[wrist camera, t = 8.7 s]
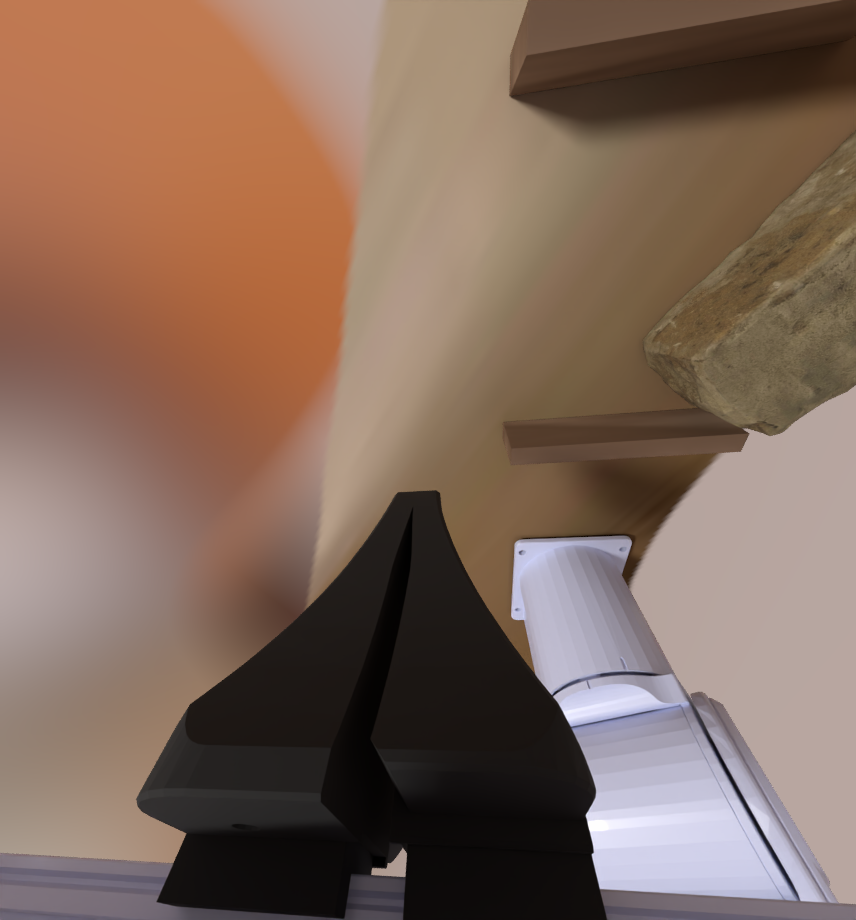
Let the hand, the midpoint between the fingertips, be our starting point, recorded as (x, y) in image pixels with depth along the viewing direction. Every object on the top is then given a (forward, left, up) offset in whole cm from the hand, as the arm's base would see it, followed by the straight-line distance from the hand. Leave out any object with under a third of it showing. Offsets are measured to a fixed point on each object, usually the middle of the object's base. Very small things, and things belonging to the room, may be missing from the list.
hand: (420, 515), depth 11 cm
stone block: (+5, -16, -10) cm, 19 cm away
